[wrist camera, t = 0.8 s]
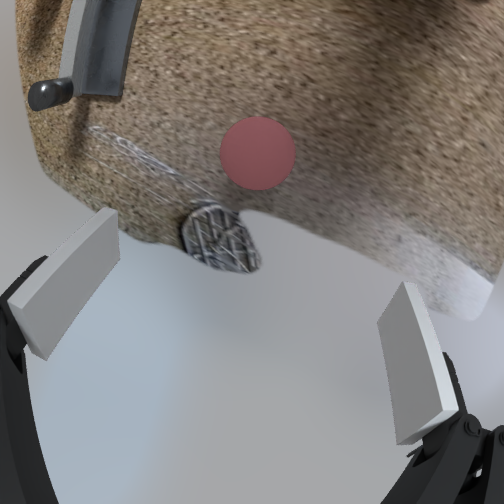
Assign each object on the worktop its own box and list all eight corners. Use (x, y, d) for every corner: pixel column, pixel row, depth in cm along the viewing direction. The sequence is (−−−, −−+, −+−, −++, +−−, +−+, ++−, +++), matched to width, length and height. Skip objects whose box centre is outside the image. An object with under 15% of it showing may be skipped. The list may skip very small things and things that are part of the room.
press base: (113, -63, 19) (103, -68, 17) (165, -71, 19) (157, -77, 17) (75, 91, 33) (64, 94, 31) (122, 95, 33) (111, 97, 31)
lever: (106, -61, 18) (67, -77, 10) (136, -66, 18) (99, -88, 10) (69, 98, 32) (23, 110, 25) (95, 100, 32) (50, 112, 25)
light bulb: (282, 173, 37) (277, 213, 27) (229, 152, 36) (201, 185, 26) (304, 121, 33) (308, 141, 23) (248, 100, 32) (225, 110, 22)
